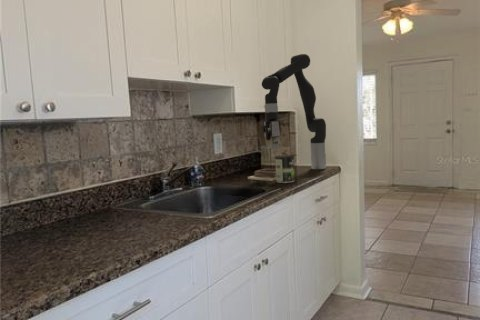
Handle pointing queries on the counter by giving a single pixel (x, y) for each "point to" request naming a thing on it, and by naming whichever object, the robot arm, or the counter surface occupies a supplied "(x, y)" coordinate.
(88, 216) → the counter surface
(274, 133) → the coffee box
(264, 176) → the cradle board
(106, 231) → the counter surface
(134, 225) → the counter surface
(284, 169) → the coffee can
